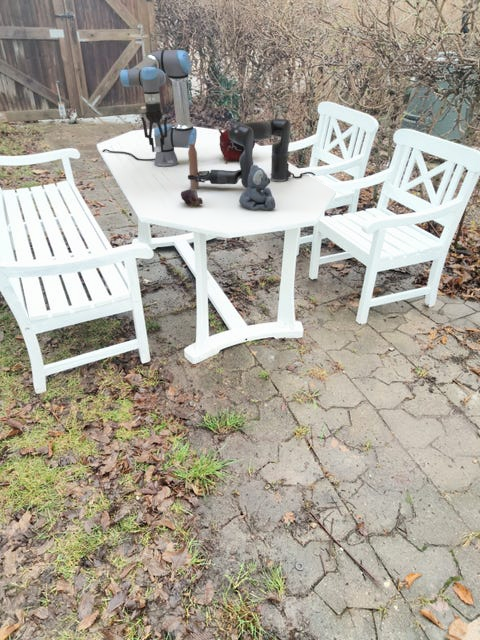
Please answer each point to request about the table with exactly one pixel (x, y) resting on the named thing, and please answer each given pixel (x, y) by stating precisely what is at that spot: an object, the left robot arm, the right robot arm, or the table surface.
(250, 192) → the koala plush
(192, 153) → the bottle
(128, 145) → the table surface
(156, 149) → the cap
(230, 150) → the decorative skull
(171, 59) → the left robot arm
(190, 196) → the rock
